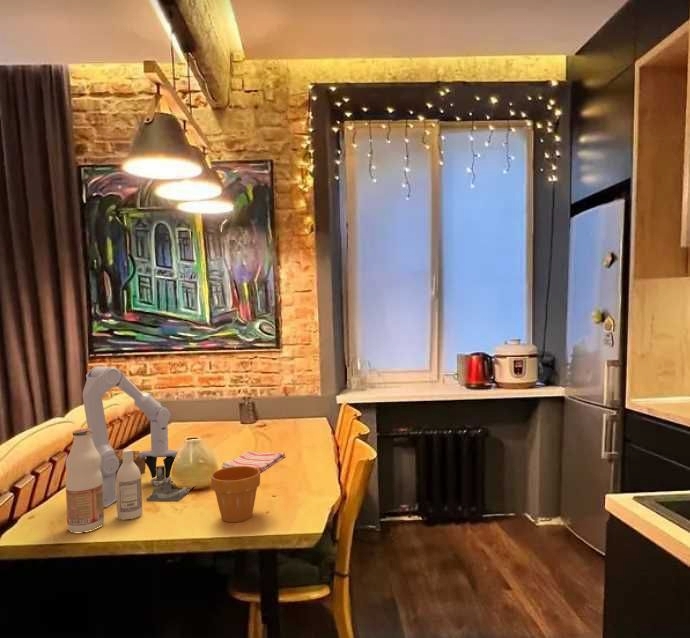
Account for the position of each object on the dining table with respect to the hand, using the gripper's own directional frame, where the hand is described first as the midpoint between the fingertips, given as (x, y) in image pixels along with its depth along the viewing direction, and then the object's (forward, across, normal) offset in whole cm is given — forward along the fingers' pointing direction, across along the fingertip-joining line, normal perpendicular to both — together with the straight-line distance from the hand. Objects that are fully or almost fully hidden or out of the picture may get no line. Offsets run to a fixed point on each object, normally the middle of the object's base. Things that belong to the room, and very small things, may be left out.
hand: (160, 477), depth 186 cm
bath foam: (+2, -4, +30) cm, 30 cm away
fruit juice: (+2, +5, +38) cm, 38 cm away
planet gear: (+2, 0, 0) cm, 2 cm away
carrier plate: (+2, -8, +10) cm, 13 cm away
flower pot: (+2, -37, +30) cm, 48 cm away
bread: (+3, +21, -8) cm, 23 cm away
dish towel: (+3, -28, -24) cm, 37 cm away
